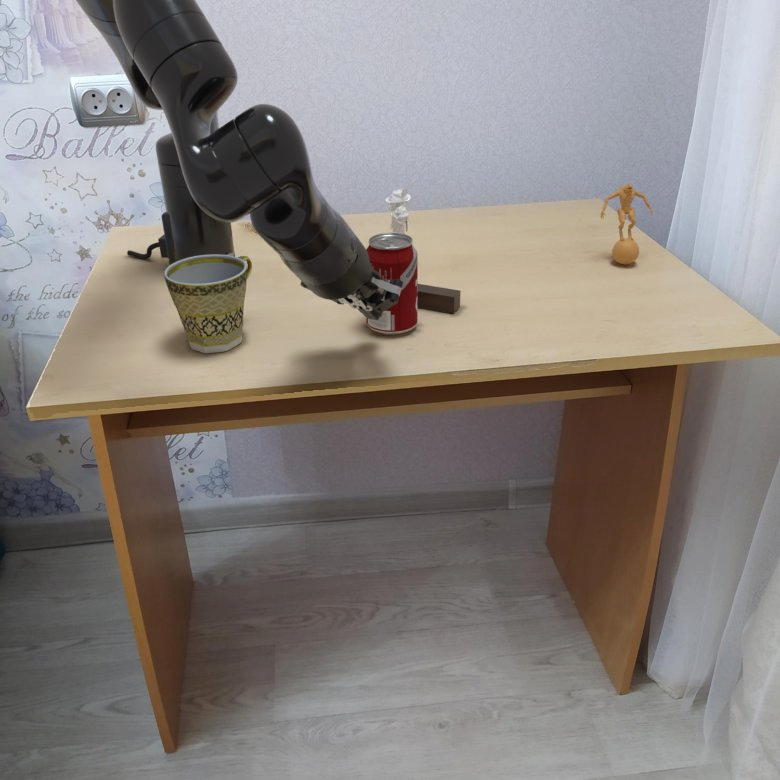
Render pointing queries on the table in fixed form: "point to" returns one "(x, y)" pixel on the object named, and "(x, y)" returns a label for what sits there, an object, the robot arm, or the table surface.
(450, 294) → the rail
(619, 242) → the figurine
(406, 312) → the soda can
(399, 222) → the hat wearing toy figure
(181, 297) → the ceramic cup
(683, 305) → the table surface
